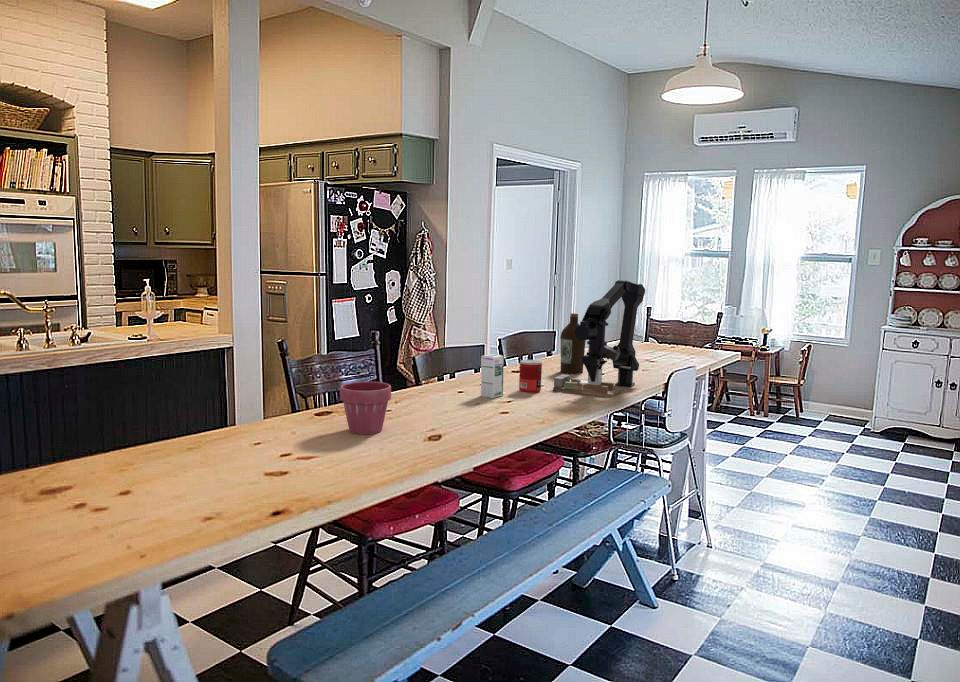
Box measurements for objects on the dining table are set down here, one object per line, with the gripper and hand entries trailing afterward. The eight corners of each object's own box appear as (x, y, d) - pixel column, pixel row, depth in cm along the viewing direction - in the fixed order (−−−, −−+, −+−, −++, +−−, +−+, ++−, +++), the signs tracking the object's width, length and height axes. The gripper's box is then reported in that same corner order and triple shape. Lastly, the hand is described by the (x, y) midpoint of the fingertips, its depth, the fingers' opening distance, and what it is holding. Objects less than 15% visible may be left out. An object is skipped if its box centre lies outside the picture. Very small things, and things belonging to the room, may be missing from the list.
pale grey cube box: (579, 385, 268) (580, 366, 267) (601, 388, 264) (602, 369, 263) (573, 388, 261) (574, 369, 260) (595, 391, 258) (596, 371, 257)
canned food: (541, 393, 258) (542, 363, 257) (519, 392, 259) (520, 362, 257) (540, 389, 266) (541, 359, 265) (518, 388, 266) (519, 359, 265)
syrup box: (493, 398, 247) (494, 357, 246) (479, 395, 251) (481, 355, 249) (503, 396, 252) (504, 355, 250) (489, 393, 255) (490, 353, 254)
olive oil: (572, 369, 312) (574, 312, 308) (589, 373, 303) (592, 314, 300) (553, 371, 305) (556, 312, 302) (570, 375, 297) (573, 315, 294)
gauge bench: (562, 385, 274) (563, 374, 273) (619, 392, 265) (620, 380, 264) (552, 390, 264) (553, 378, 264) (611, 397, 255) (611, 385, 254)
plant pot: (335, 425, 204) (335, 381, 203) (383, 422, 210) (384, 379, 208) (345, 438, 191) (345, 391, 190) (396, 435, 196) (397, 389, 195)
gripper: (611, 343, 249) (609, 387, 251) (625, 337, 265) (622, 379, 267) (580, 340, 253) (578, 383, 255) (596, 335, 270) (594, 376, 272)
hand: (594, 380), depth 262 cm, fingers closed on pale grey cube box, 4 cm apart
